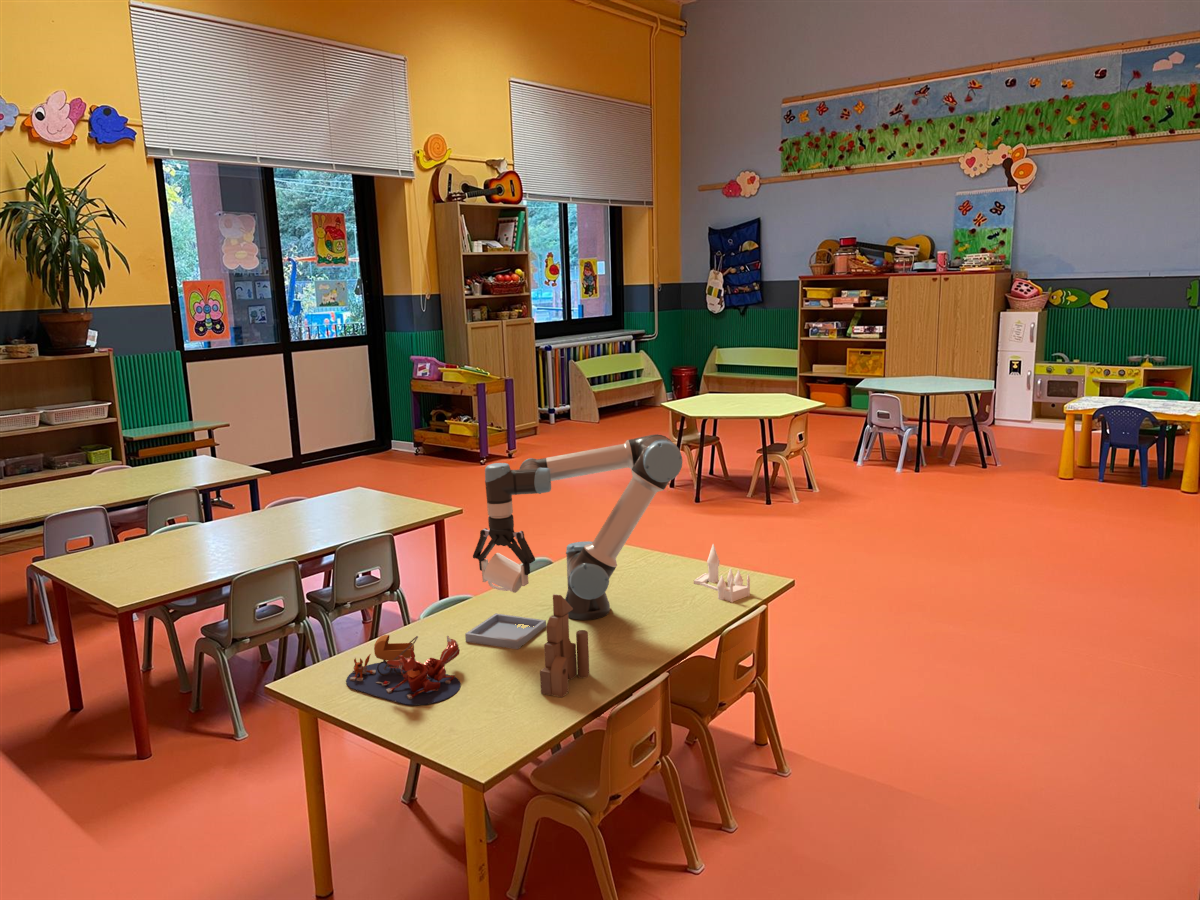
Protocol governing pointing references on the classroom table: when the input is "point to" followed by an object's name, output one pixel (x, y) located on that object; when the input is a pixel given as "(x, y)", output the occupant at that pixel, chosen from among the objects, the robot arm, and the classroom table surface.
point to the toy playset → (405, 674)
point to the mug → (503, 573)
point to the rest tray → (505, 631)
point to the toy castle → (723, 593)
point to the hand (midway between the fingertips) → (505, 582)
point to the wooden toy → (562, 652)
